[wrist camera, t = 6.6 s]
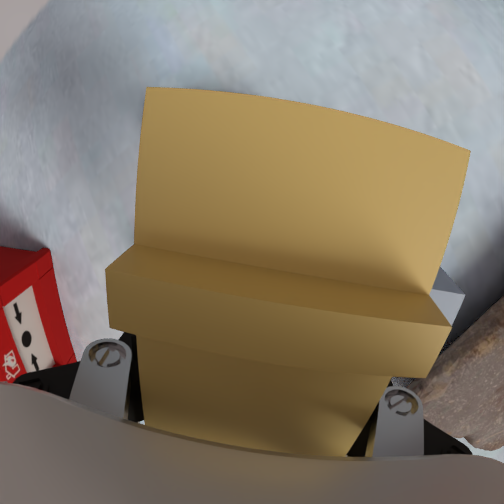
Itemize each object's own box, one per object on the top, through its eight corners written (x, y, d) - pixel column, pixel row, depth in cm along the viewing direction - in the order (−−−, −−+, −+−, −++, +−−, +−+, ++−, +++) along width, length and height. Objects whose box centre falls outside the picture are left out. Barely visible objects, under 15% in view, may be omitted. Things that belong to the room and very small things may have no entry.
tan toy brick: (221, 109, 10) (114, 79, 3) (374, 137, 10) (506, 158, 3) (192, 414, 15) (155, 532, 8) (288, 431, 15) (283, 553, 8)
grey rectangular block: (338, 244, 27) (349, 274, 21) (437, 264, 26) (465, 294, 21) (325, 290, 29) (332, 329, 23) (421, 306, 28) (443, 342, 23)
